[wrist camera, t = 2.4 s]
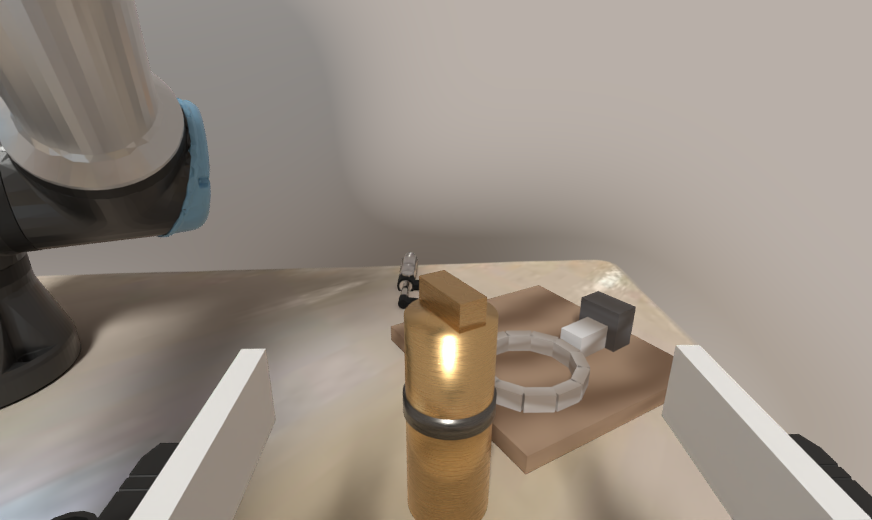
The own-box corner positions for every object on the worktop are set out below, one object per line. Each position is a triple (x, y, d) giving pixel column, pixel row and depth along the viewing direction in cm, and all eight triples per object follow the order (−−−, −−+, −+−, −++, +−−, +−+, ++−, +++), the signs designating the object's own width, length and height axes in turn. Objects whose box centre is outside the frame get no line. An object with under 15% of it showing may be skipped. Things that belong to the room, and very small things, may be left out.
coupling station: (391, 339, 49) (389, 290, 47) (537, 296, 58) (541, 254, 56) (525, 474, 33) (531, 408, 31) (698, 386, 42) (711, 331, 40)
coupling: (390, 486, 32) (383, 278, 27) (459, 455, 34) (465, 260, 29) (433, 551, 28) (434, 319, 22) (507, 510, 30) (524, 293, 25)
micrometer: (457, 315, 55) (458, 294, 54) (393, 314, 55) (392, 294, 54) (454, 263, 69) (455, 246, 68) (403, 263, 69) (402, 246, 68)
